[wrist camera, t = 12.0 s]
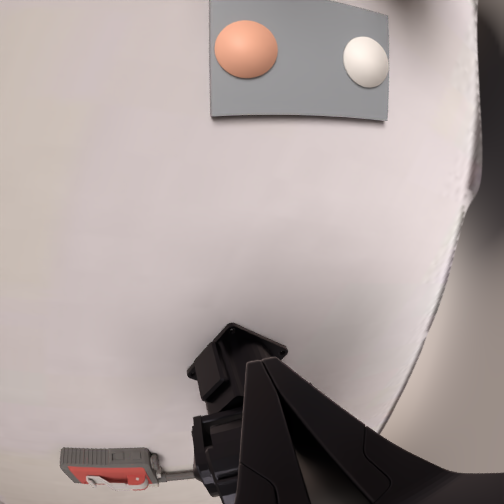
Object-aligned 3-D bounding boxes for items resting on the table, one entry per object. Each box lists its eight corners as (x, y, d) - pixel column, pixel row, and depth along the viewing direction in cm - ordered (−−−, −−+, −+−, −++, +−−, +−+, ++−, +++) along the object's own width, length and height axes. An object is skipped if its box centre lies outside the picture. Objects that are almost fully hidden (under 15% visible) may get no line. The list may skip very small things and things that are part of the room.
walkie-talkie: (76, 472, 31) (214, 466, 36) (75, 499, 27) (221, 493, 32) (50, 442, 27) (211, 437, 32) (47, 473, 23) (219, 469, 28)
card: (382, 119, 20) (389, 121, 19) (210, 116, 17) (212, 116, 17) (382, 17, 16) (389, 15, 16) (209, -9, 14) (211, -13, 13)
